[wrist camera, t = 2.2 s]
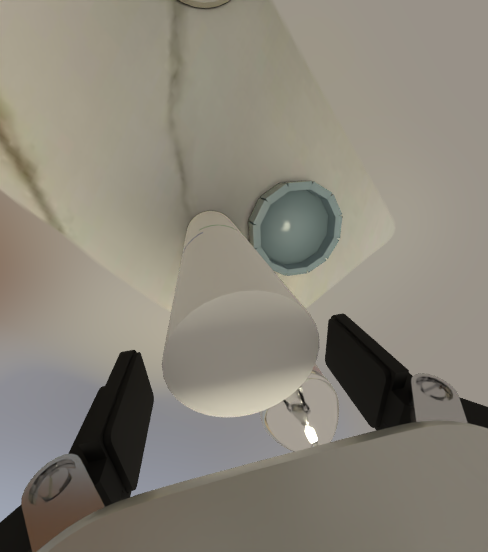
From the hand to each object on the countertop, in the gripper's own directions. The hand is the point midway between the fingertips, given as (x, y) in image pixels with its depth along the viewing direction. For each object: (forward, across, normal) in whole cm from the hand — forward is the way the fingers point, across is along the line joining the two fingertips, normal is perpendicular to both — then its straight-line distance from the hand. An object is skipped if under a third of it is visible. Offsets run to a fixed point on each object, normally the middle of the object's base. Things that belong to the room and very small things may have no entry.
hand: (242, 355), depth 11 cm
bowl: (+24, -12, -1) cm, 27 cm away
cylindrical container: (+24, 0, -1) cm, 24 cm away
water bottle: (+24, -5, +10) cm, 27 cm away
